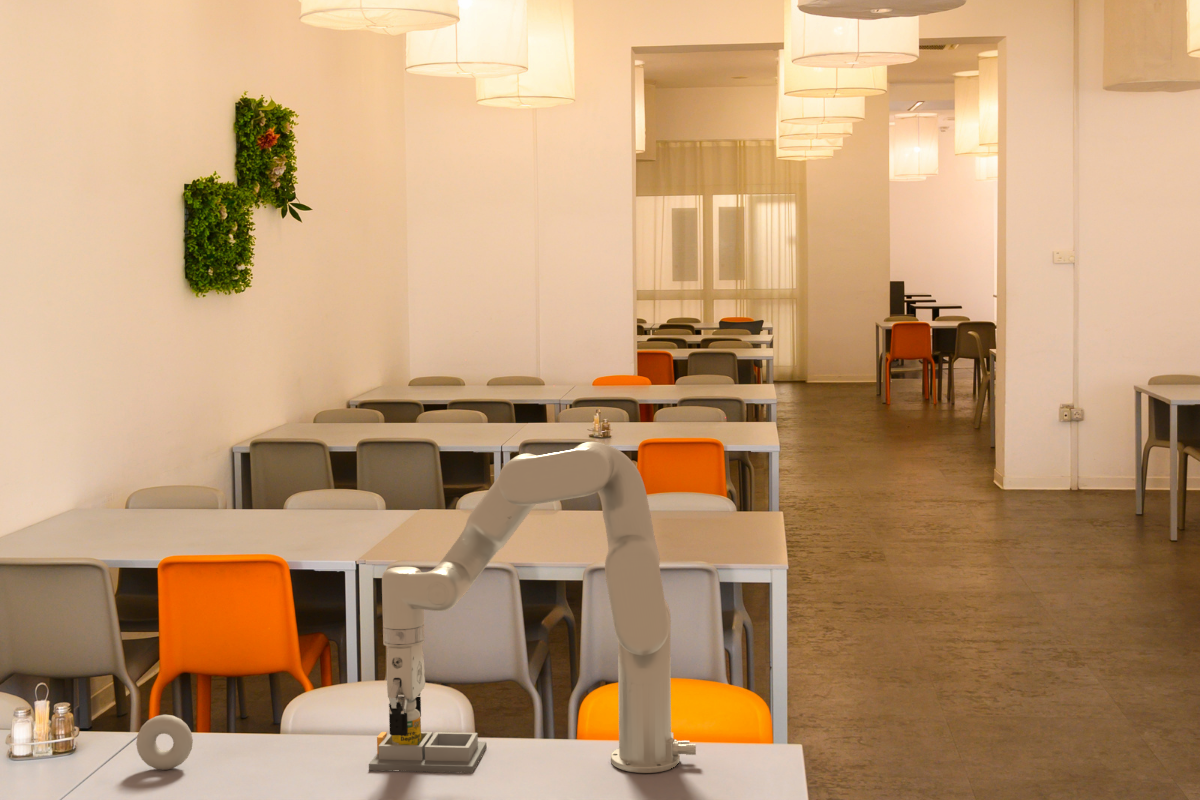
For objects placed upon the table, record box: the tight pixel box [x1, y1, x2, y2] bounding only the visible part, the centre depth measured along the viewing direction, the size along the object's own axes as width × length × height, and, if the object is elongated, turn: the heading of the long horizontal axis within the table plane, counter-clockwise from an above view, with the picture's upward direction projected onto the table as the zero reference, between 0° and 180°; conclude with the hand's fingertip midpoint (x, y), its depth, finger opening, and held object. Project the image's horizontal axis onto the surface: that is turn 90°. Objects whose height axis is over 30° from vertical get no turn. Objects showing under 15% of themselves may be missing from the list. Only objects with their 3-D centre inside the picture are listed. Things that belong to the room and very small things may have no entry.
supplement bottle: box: [392, 699, 422, 745], centre depth 218 cm, size 5×5×10 cm
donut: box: [135, 714, 194, 771], centre depth 214 cm, size 10×4×10 cm, turn 92°
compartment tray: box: [368, 731, 487, 774], centre depth 218 cm, size 19×13×4 cm
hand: (405, 726), depth 218 cm, fingers open, 9 cm apart
